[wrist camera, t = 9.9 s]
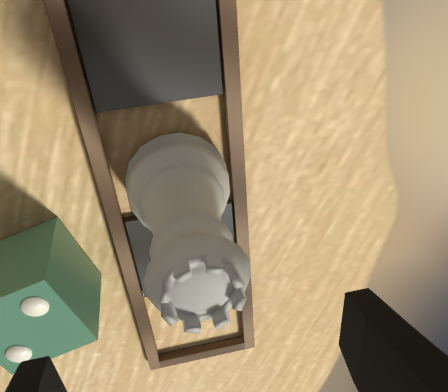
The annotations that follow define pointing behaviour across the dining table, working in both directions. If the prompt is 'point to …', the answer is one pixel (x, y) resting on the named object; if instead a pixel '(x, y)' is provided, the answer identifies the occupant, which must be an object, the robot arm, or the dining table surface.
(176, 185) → the rook chess piece
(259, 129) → the dining table surface
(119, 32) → the track board
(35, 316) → the green die
